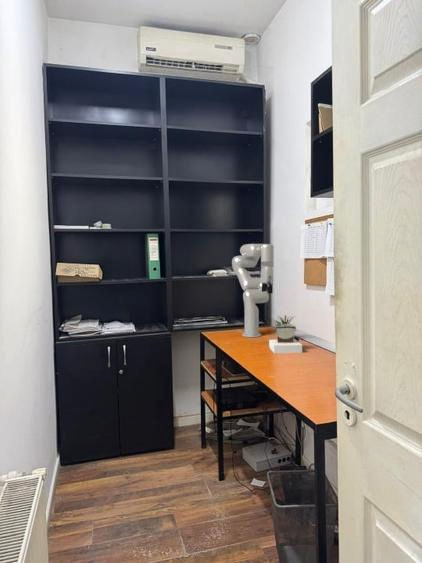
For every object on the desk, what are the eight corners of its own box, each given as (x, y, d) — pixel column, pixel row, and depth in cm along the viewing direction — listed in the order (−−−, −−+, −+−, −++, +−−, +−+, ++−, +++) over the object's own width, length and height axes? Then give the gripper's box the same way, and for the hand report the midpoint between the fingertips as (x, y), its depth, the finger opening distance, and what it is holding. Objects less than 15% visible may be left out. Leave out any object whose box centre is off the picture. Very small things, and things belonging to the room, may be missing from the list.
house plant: (290, 335, 259) (290, 311, 257) (301, 340, 246) (301, 315, 244) (271, 337, 254) (271, 313, 253) (281, 342, 241) (281, 316, 240)
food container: (293, 340, 228) (294, 323, 227) (296, 342, 222) (296, 325, 221) (273, 340, 228) (273, 323, 227) (275, 342, 221) (275, 325, 221)
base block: (269, 347, 230) (269, 339, 230) (295, 347, 231) (295, 339, 230) (274, 354, 216) (274, 345, 216) (301, 353, 217) (302, 345, 216)
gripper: (256, 264, 240) (256, 291, 242) (266, 265, 223) (266, 294, 225) (268, 263, 242) (267, 290, 243) (278, 265, 225) (278, 293, 226)
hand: (267, 292), depth 234 cm, fingers open, 9 cm apart
